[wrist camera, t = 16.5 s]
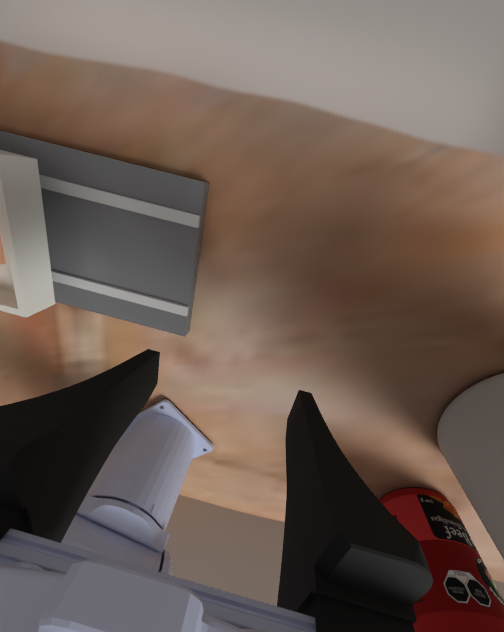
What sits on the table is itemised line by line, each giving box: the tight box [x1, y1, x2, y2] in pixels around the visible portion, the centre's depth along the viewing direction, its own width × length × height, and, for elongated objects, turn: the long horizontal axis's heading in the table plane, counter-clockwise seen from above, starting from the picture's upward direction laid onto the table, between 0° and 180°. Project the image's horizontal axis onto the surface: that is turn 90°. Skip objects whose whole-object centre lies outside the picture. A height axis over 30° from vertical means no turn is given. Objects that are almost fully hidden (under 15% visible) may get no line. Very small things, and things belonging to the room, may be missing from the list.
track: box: [0, 130, 209, 336], centre depth 20 cm, size 22×12×3 cm, turn 77°
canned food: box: [379, 488, 504, 632], centre depth 24 cm, size 8×8×11 cm
